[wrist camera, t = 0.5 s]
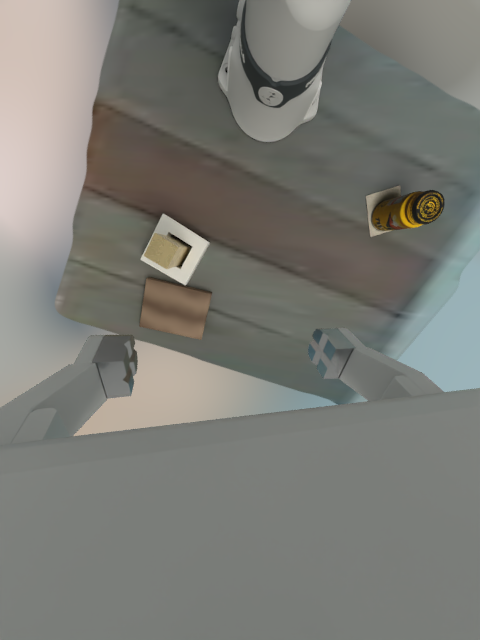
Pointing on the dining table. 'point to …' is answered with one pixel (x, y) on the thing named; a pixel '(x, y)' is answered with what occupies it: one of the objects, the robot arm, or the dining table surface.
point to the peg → (166, 251)
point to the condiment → (402, 209)
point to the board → (174, 308)
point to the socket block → (197, 242)
